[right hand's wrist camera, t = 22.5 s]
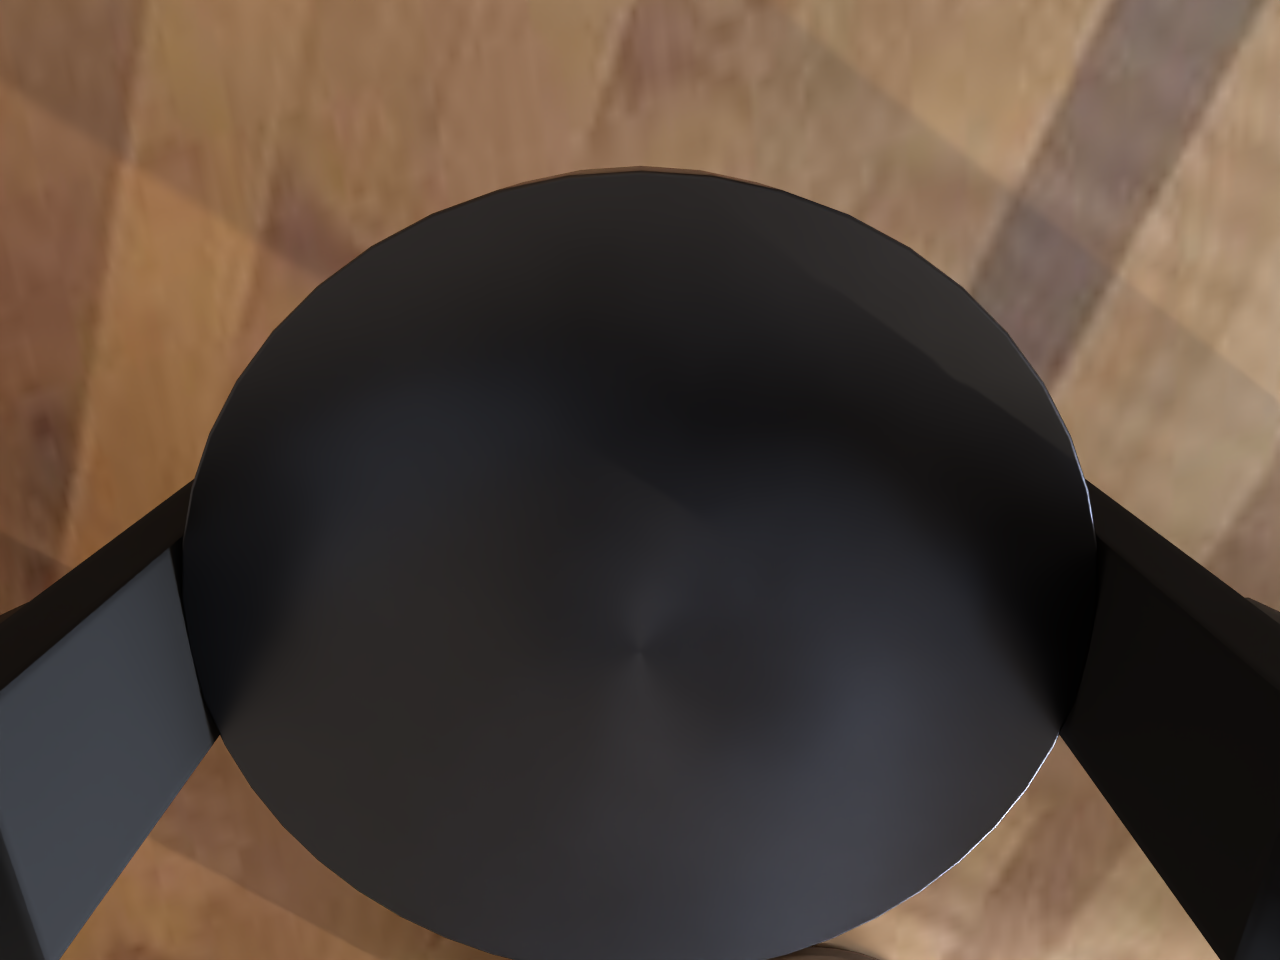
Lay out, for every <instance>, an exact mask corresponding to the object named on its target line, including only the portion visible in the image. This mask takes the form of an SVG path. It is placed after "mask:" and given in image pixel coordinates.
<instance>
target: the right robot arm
mask: <svg viewBox="0 0 1280 960" xmlns="http://www.w3.org/2000/svg"><path fill="white" fill-rule="evenodd" d="M1085 481H1086V485H1087V488H1088V492H1089V498H1090V504H1091V511H1092V517H1093V523H1094V529H1095V536H1096V542H1097V604H1096V611H1095V618H1094V625H1093V632H1092V637H1091V642H1090V647H1089V652H1088V656H1087V660H1086V664H1085V668H1084V672H1083V675H1082V678H1081V682H1080V685H1079V688H1078V692H1077V695H1076V698H1075V701H1074V703H1073V706H1072V708H1071V710H1070V712H1069V714H1068V716H1067V719H1066V721H1065V723H1064V725H1063V727H1062V729H1061V732H1060V736H1061V737H1062V739H1063V740H1064V741H1065V743H1066V744H1067V746H1068V747H1069V748H1070V750H1071V751H1072V753H1073V754H1074V755H1075V757H1076V758H1077V760H1078V761H1079V762H1080V764H1081V765H1082V767H1083V768H1084V769H1085V771H1086V772H1087V774H1088V775H1089V777H1090V778H1091V779H1092V781H1093V782H1094V784H1095V785H1096V786H1097V788H1098V789H1099V791H1100V792H1101V793H1102V795H1103V796H1104V798H1105V799H1106V800H1107V802H1108V803H1109V805H1110V806H1111V807H1112V809H1113V810H1114V812H1115V813H1116V814H1117V816H1118V817H1119V819H1120V820H1121V821H1122V823H1123V824H1124V826H1125V827H1126V828H1127V830H1128V831H1129V833H1130V834H1131V835H1132V837H1133V838H1134V840H1135V841H1136V842H1137V844H1138V845H1139V847H1140V848H1141V849H1142V851H1143V852H1144V854H1145V855H1146V856H1147V858H1148V859H1149V861H1150V862H1151V863H1152V865H1153V866H1154V868H1155V869H1156V870H1157V872H1158V873H1159V875H1160V876H1161V877H1162V879H1163V880H1164V882H1165V883H1166V884H1167V886H1168V887H1169V889H1170V890H1171V891H1172V893H1173V894H1174V896H1175V897H1176V898H1177V900H1178V901H1179V903H1180V904H1181V905H1182V907H1183V908H1184V910H1185V911H1186V912H1187V914H1188V915H1189V917H1190V918H1191V919H1192V921H1193V922H1194V924H1195V925H1196V926H1197V928H1198V929H1199V931H1200V932H1201V933H1202V935H1203V936H1204V938H1205V939H1206V940H1207V942H1208V943H1209V945H1210V946H1211V947H1212V949H1213V950H1214V952H1215V953H1216V954H1217V956H1218V957H1219V959H1220V960H1280V612H1279V611H1277V610H1274V609H1272V608H1270V607H1268V606H1266V605H1264V604H1261V603H1259V602H1257V601H1255V600H1253V599H1251V598H1244V597H1243V596H1241V595H1240V594H1239V593H1237V592H1236V591H1235V590H1233V589H1232V588H1231V587H1229V586H1228V585H1227V584H1225V583H1224V582H1223V581H1221V580H1220V579H1219V578H1217V577H1216V576H1215V575H1213V574H1212V573H1211V572H1209V571H1208V570H1207V569H1205V568H1204V567H1203V566H1201V565H1200V564H1199V563H1197V562H1196V561H1195V560H1193V559H1192V558H1191V557H1189V556H1188V555H1187V554H1185V553H1184V552H1182V551H1181V550H1180V549H1178V548H1177V547H1176V546H1174V545H1173V544H1172V543H1170V542H1169V541H1168V540H1166V539H1165V538H1164V537H1162V536H1161V535H1160V534H1158V533H1157V532H1156V531H1154V530H1153V529H1152V528H1150V527H1149V526H1148V525H1146V524H1145V523H1144V522H1142V521H1141V520H1140V519H1138V518H1137V517H1136V516H1134V515H1133V514H1132V513H1130V512H1129V511H1128V510H1126V509H1125V508H1124V507H1122V506H1121V505H1119V504H1118V503H1117V502H1115V501H1114V500H1113V499H1111V498H1110V497H1109V496H1107V495H1106V494H1105V493H1103V492H1102V491H1101V490H1099V489H1098V488H1097V487H1095V486H1094V485H1093V484H1091V483H1090V482H1089V481H1087V480H1086V479H1085ZM193 482H194V479H193V480H192V481H191V482H189V483H188V484H187V485H185V486H184V487H183V488H181V489H180V490H179V491H177V492H176V493H175V494H173V495H172V496H171V497H169V498H168V499H167V500H165V501H164V502H163V503H161V504H160V505H159V506H157V507H156V508H155V509H153V510H152V511H150V512H149V513H148V514H146V515H145V516H144V517H142V518H141V519H140V520H138V521H137V522H136V523H134V524H133V525H132V526H130V527H129V528H128V529H126V530H125V531H124V532H122V533H121V534H120V535H118V536H117V537H116V538H114V539H113V540H112V541H110V542H109V543H108V544H106V545H105V546H104V547H102V548H101V549H100V550H98V551H97V552H96V553H94V554H93V555H92V556H90V557H89V558H87V559H86V560H85V561H83V562H82V563H81V564H79V565H78V566H77V567H75V568H74V569H73V570H71V571H70V572H69V573H67V574H66V575H65V576H63V577H62V578H61V579H59V580H58V581H57V582H55V583H54V584H53V585H51V586H50V587H49V588H47V589H46V590H45V591H43V592H42V593H41V594H39V595H38V596H37V597H35V598H34V599H33V600H31V601H30V602H28V603H26V604H23V605H21V606H19V607H17V608H15V609H13V610H11V611H8V612H6V613H4V614H2V615H0V960H59V959H60V958H61V956H62V955H63V954H64V952H65V951H66V949H67V948H68V947H69V945H70V944H71V942H72V941H73V940H74V938H75V937H76V935H77V934H78V933H79V931H80V930H81V928H82V927H83V926H84V924H85V923H86V921H87V920H88V919H89V917H90V916H91V914H92V913H93V912H94V910H95V909H96V907H97V906H98V905H99V903H100V902H101V900H102V899H103V898H104V896H105V895H106V893H107V892H108V891H109V889H110V888H111V886H112V885H113V884H114V882H115V881H116V879H117V878H118V877H119V875H120V874H121V872H122V871H123V870H124V868H125V867H126V865H127V864H128V863H129V861H130V860H131V858H132V857H133V856H134V854H135V853H136V851H137V850H138V849H139V847H140V846H141V844H142V843H143V842H144V840H145V839H146V837H147V836H148V835H149V833H150V832H151V830H152V829H153V828H154V826H155V825H156V823H157V822H158V821H159V819H160V818H161V816H162V815H163V814H164V812H165V811H166V809H167V808H168V807H169V805H170V804H171V802H172V801H173V800H174V798H175V797H176V795H177V794H178V792H179V791H180V790H181V788H182V787H183V785H184V784H185V783H186V781H187V780H188V778H189V777H190V776H191V774H192V773H193V771H194V770H195V769H196V767H197V766H198V764H199V763H200V762H201V760H202V759H203V757H204V756H205V755H206V753H207V752H208V750H209V749H210V748H211V746H212V745H213V743H214V742H215V741H216V739H217V738H218V736H219V735H220V733H219V731H218V729H217V727H216V724H215V722H214V720H213V718H212V716H211V713H210V711H209V709H208V707H207V705H206V702H205V700H204V698H203V694H202V691H201V687H200V684H199V681H198V677H197V674H196V670H195V666H194V662H193V658H192V654H191V649H190V645H189V640H188V635H187V630H186V623H185V616H184V609H183V602H182V542H183V536H184V530H185V524H186V518H187V512H188V506H189V500H190V494H191V488H192V485H193ZM766 960H878V959H875V958H872V957H869V956H867V955H864V954H860V953H856V952H852V951H846V950H840V949H834V948H822V947H806V948H803V949H801V950H798V951H795V952H792V953H789V954H786V955H782V956H778V957H774V958H770V959H766Z"/></svg>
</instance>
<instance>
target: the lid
mask: <svg viewBox="0 0 1280 960" xmlns="http://www.w3.org/2000/svg"><path fill="white" fill-rule="evenodd" d="M182 602H183V609H184V616H185V623H186V630H187V635H188V640H189V645H190V649H191V654H192V658H193V662H194V666H195V670H196V674H197V677H198V681H199V684H200V687H201V691H202V694H203V698H204V700H205V702H206V705H207V707H208V709H209V711H210V713H211V716H212V718H213V720H214V722H215V724H216V727H217V729H218V731H219V733H220V735H221V738H222V740H223V742H224V744H225V746H226V748H227V749H228V751H229V752H230V754H231V756H232V757H233V759H234V760H235V762H236V764H237V765H238V767H239V768H240V770H241V772H242V773H243V775H244V776H245V778H246V780H247V781H248V783H249V784H250V786H251V788H252V789H253V790H254V791H255V793H256V794H257V795H258V796H259V797H260V799H261V800H262V801H263V802H264V804H265V805H266V806H267V807H268V808H269V810H270V811H271V812H272V813H273V815H274V816H275V817H276V818H277V819H278V821H279V822H280V823H281V824H282V826H283V827H284V828H285V829H286V830H287V831H288V832H290V833H291V834H292V835H293V836H294V837H295V838H296V839H297V840H298V841H299V842H300V843H301V844H302V845H303V846H304V847H305V848H306V849H307V850H308V851H309V852H310V853H311V854H312V855H313V856H314V857H315V858H316V859H317V860H319V861H320V862H321V863H322V864H324V865H325V866H326V867H328V868H329V869H330V870H332V871H333V872H334V873H335V874H337V875H338V876H339V877H341V878H342V879H343V880H345V881H346V882H347V883H349V884H350V885H351V886H352V887H354V888H355V889H356V890H358V891H359V892H361V893H362V894H364V895H366V896H367V897H369V898H371V899H372V900H374V901H376V902H377V903H379V904H381V905H382V906H384V907H386V908H387V909H389V910H391V911H392V912H394V913H395V914H397V915H399V916H400V917H403V918H405V919H407V920H409V921H411V922H413V923H415V924H417V925H420V926H422V927H424V928H426V929H428V930H430V931H432V932H434V933H436V934H439V935H441V936H443V937H445V938H448V939H451V940H453V941H456V942H459V943H462V944H465V945H468V946H470V947H473V948H476V949H479V950H482V951H485V952H487V953H490V954H493V955H497V956H502V957H506V958H510V959H514V960H766V959H770V958H774V957H778V956H782V955H786V954H789V953H792V952H795V951H798V950H801V949H803V948H806V947H809V946H812V945H815V944H818V943H821V942H824V941H826V940H829V939H832V938H834V937H836V936H839V935H841V934H843V933H845V932H847V931H849V930H851V929H854V928H856V927H858V926H860V925H862V924H864V923H867V922H869V921H871V920H873V919H875V918H877V917H879V916H881V915H882V914H884V913H886V912H887V911H889V910H891V909H892V908H894V907H896V906H897V905H899V904H901V903H902V902H904V901H906V900H907V899H909V898H911V897H912V896H914V895H916V894H917V893H919V892H920V891H922V890H923V889H924V888H926V887H927V886H928V885H930V884H931V883H932V882H934V881H935V880H936V879H937V878H939V877H940V876H941V875H943V874H944V873H945V872H947V871H948V870H949V869H951V868H952V867H953V866H955V865H956V864H957V863H959V862H960V861H961V860H962V859H963V858H964V857H965V856H966V855H967V854H968V853H969V852H970V851H971V850H972V849H973V848H974V847H975V846H976V845H978V844H979V843H980V842H981V841H982V840H983V839H984V838H985V837H986V836H987V835H988V834H989V833H990V832H991V831H992V830H993V829H994V828H995V827H996V826H997V825H998V824H999V822H1000V821H1001V820H1002V819H1003V817H1004V816H1005V815H1006V814H1007V813H1008V811H1009V810H1010V809H1011V808H1012V807H1013V805H1014V804H1015V803H1016V802H1017V800H1018V799H1019V798H1020V797H1021V796H1022V794H1023V793H1024V792H1025V791H1026V790H1027V788H1028V786H1029V785H1030V783H1031V782H1032V780H1033V779H1034V777H1035V775H1036V774H1037V772H1038V771H1039V769H1040V767H1041V766H1042V764H1043V763H1044V761H1045V760H1046V758H1047V756H1048V755H1049V753H1050V752H1051V750H1052V748H1053V747H1054V745H1055V743H1056V740H1057V738H1058V736H1059V734H1060V732H1061V729H1062V727H1063V725H1064V723H1065V721H1066V719H1067V716H1068V714H1069V712H1070V710H1071V708H1072V706H1073V703H1074V701H1075V698H1076V695H1077V692H1078V688H1079V685H1080V682H1081V678H1082V675H1083V672H1084V668H1085V664H1086V660H1087V656H1088V652H1089V647H1090V642H1091V637H1092V632H1093V625H1094V618H1095V611H1096V604H1097V542H1096V536H1095V529H1094V523H1093V517H1092V511H1091V504H1090V498H1089V492H1088V488H1087V485H1086V481H1085V478H1084V475H1083V472H1082V469H1081V466H1080V463H1079V460H1078V457H1077V454H1076V451H1075V448H1074V445H1073V441H1072V438H1071V435H1070V433H1069V431H1068V429H1067V427H1066V426H1065V424H1064V422H1063V420H1062V418H1061V416H1060V414H1059V412H1058V410H1057V408H1056V406H1055V404H1054V402H1053V400H1052V398H1051V396H1050V394H1049V392H1048V390H1047V388H1046V386H1045V384H1044V382H1043V381H1042V380H1041V378H1040V377H1039V375H1038V374H1037V373H1036V371H1035V370H1034V369H1033V367H1032V366H1031V364H1030V363H1029V362H1028V360H1027V359H1026V357H1025V356H1024V355H1023V353H1022V352H1021V351H1020V349H1019V348H1018V346H1017V345H1016V344H1015V342H1014V341H1013V339H1012V338H1011V337H1010V335H1009V334H1008V333H1007V332H1006V331H1005V330H1004V329H1003V328H1002V327H1001V326H1000V325H999V324H998V323H997V321H996V320H995V319H994V318H993V317H992V316H991V315H990V314H989V313H988V312H987V311H986V310H985V309H984V308H983V307H982V306H981V305H980V304H979V303H978V302H977V301H976V300H975V299H974V298H973V297H972V296H971V295H970V294H969V293H968V292H967V291H966V290H965V289H964V288H963V287H962V286H960V285H959V284H958V283H956V282H955V281H954V280H952V279H951V278H950V277H948V276H947V275H946V274H944V273H943V272H942V271H940V270H939V269H938V268H936V267H935V266H934V265H932V264H931V263H930V262H928V261H927V260H926V259H924V258H923V257H922V256H920V255H919V254H918V253H916V252H915V251H914V250H912V249H911V248H910V247H908V246H906V245H904V244H902V243H900V242H898V241H897V240H895V239H893V238H891V237H889V236H887V235H886V234H884V233H882V232H880V231H878V230H876V229H874V228H873V227H871V226H869V225H867V224H865V223H863V222H862V221H860V220H858V219H856V218H854V217H852V216H850V215H848V214H846V213H843V212H840V211H837V210H835V209H832V208H829V207H826V206H824V205H821V204H818V203H816V202H813V201H810V200H807V199H805V198H802V197H799V196H797V195H794V194H791V193H788V192H786V191H783V190H780V189H776V188H773V187H770V186H767V185H763V184H760V183H757V182H752V181H747V180H743V179H738V178H733V177H729V176H724V175H719V174H715V173H710V172H705V171H701V170H689V169H675V168H661V167H647V166H634V167H619V168H604V169H589V170H579V171H574V172H570V173H565V174H560V175H555V176H551V177H546V178H541V179H536V180H531V181H527V182H523V183H519V184H516V185H513V186H509V187H506V188H503V189H499V190H496V191H494V192H491V193H488V194H485V195H483V196H480V197H477V198H474V199H472V200H469V201H466V202H463V203H461V204H458V205H455V206H452V207H449V208H447V209H444V210H441V211H438V212H436V213H433V214H431V215H429V216H427V217H425V218H423V219H421V220H419V221H418V222H416V223H414V224H412V225H410V226H408V227H406V228H405V229H403V230H401V231H399V232H397V233H395V234H393V235H391V236H390V237H388V238H386V239H384V240H382V241H380V242H378V243H376V244H375V245H373V246H371V247H370V248H368V249H367V250H366V251H364V252H363V253H362V254H360V255H359V256H357V257H356V258H355V259H353V260H352V261H351V262H349V263H348V264H347V265H345V266H344V267H343V268H341V269H340V270H339V271H337V272H336V273H335V274H333V275H332V276H330V277H329V278H328V279H326V280H325V281H324V282H322V283H321V284H320V285H318V286H317V287H316V288H315V289H314V290H313V291H312V292H311V293H310V294H309V295H308V296H307V297H306V298H305V299H304V300H303V301H302V302H301V303H300V304H299V305H298V306H297V307H296V308H295V309H294V310H293V311H292V312H291V313H290V314H289V315H288V316H287V317H286V318H285V319H284V320H283V321H282V322H281V323H280V324H279V325H278V326H277V327H276V328H275V329H274V330H273V331H272V333H271V334H270V336H269V337H268V338H267V340H266V341H265V342H264V344H263V345H262V347H261V348H260V349H259V351H258V352H257V353H256V355H255V356H254V358H253V359H252V360H251V362H250V363H249V364H248V366H247V367H246V368H245V370H244V371H243V373H242V374H241V375H240V377H239V378H238V379H237V381H236V383H235V385H234V387H233V389H232V390H231V392H230V394H229V396H228V398H227V400H226V402H225V404H224V406H223V408H222V410H221V412H220V414H219V416H218V418H217V420H216V422H215V424H214V425H213V427H212V429H211V431H210V433H209V436H208V439H207V442H206V445H205V448H204V451H203V454H202V457H201V460H200V463H199V466H198V469H197V472H196V475H195V479H194V482H193V485H192V488H191V494H190V500H189V506H188V512H187V518H186V524H185V530H184V536H183V542H182Z"/></svg>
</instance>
